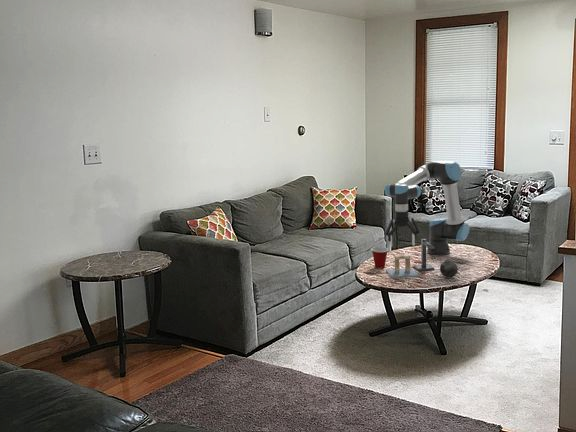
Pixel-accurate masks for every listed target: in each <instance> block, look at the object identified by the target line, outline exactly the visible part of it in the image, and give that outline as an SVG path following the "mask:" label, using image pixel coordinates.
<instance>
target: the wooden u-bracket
mask: <svg viewBox="0 0 576 432" xmlns="http://www.w3.org/2000/svg"><path fill="white" fill-rule="evenodd" d="M404 259H405V262H404V263H405V266H404V269H405V271H406V272H407V273H410V268H411V255H410V254H409V253H408V254H407V253H405V254H395V255H394V269H395V273H397V274H399V269H400V260H404Z"/></svg>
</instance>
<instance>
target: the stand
mask: <svg viewBox="0 0 576 432" xmlns="http://www.w3.org/2000/svg"><path fill="white" fill-rule="evenodd" d="M420 242H421V243H420V244H421V246H420V247H421V248H420V249H421V250H420V251H421V253H420V255H421V256H420V259H421V261H420V262H421V264H413V268H414V269H415V270H416V271H417V272H426V271H435V267H434V266H433V265H432V264H430V263H427V248H430V249H431V250H434V249H435V247H434V246H433V245H431V244H430V243H429V242H428V241H427V238H421V239H420Z"/></svg>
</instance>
